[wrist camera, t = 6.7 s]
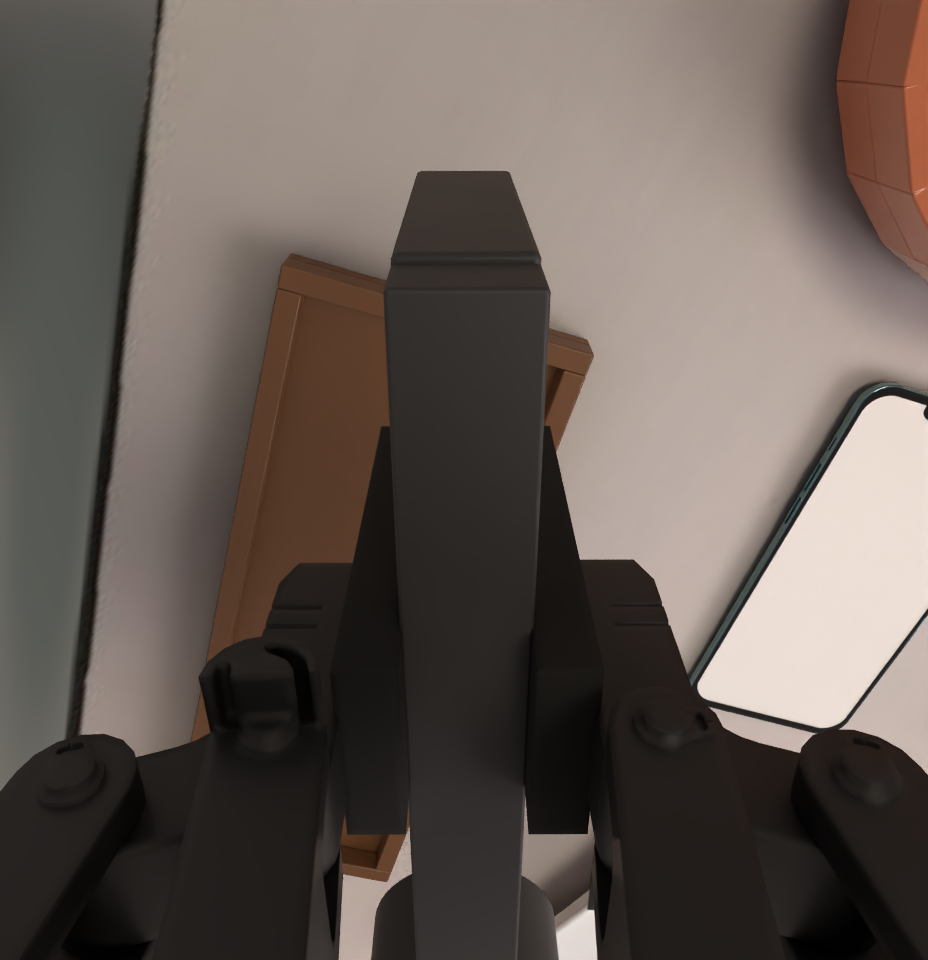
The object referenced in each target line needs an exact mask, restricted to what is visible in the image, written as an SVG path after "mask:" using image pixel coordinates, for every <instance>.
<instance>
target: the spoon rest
mask: <svg viewBox="0 0 928 960" xmlns="http://www.w3.org/2000/svg"><path fill="white" fill-rule="evenodd" d="M385 285H386V281H384V280H381V279H377V278H374V277H370V276H367V275H363V274H360V273H357V272H353V271H350V270H346V269H343V268H340V267H336V266H333V265H329V264H326V263H322V262H319V261H316V260H312V259H309V258H305V257H302V256H299V255H295V254H291V255H290V256H289V257H288V258H287V259H286V260H285V262H284V263H283V264H282V266H281V271H280V276H279V281H278V288H277V291H276V296H275V302H274V307H273V312H272V318H271V323H270V328H269V333H268V339H267V344H266V349H265V354H264V360H263V365H262V370H261V375H260V381H259V386H258V391H257V396H256V402H255V407H254V412H253V418H252V423H251V428H250V433H249V439H248V444H247V449H246V454H245V460H244V465H243V470H242V475H241V481H240V486H239V491H238V496H237V502H236V507H235V512H234V517H233V523H232V528H231V533H230V539H229V544H228V549H227V554H226V560H225V565H224V570H223V575H222V581H221V586H220V591H219V596H218V602H217V607H216V612H215V617H214V623H213V628H212V633H211V639H210V644H209V649H208V654H207V660H206V664H207V662H208V661H209V660H210V659H212V658H213V657H214V656H215V655H217V654H218V653H219V652H220V651H221V650H223V649H224V648H226V647H228V646H231V645H233V644H235V643H237V642H240V641H242V640H244V639H249V638H255V637H260V636H262V633H263V630H264V629H265V624H266V621H267V618H268V615H269V612H270V610H272V603H273V600H274V597H275V594H276V591H277V588H278V585H279V583H280V582H281V581H282V580H283V579H284V578H285V577H286V576H287V575H288V574H289V573H290V572H291V571H292V570H293V569H294V568H295V567H296V566H297V565H298V564H299V563H353V559H354V554H355V549H356V545H357V540H358V535H359V530H360V526H361V521H362V516H363V511H364V507H365V502H366V497H367V492H368V487H369V483H370V478H371V473H372V468H373V464H374V459H375V454H376V449H377V445H378V440H379V435H380V430H381V426H390V420H389V400H388V380H387V360H386V340H385V320H384V300H383V291H384V288H385ZM593 357H594V354H593V352H592V349H591V347H590V345H589V343H588V341H587V340H586V339H582V338H579V337H575V336H572V335H568V334H565V333H562V332H558V331H555V330H551V329H549V334H548V354H547V374H546V394H545V413H544V426H550V428H551V432H552V437H553V441H554V446H555V450H556V451H557V449H558V446H559V444H560V441H561V438H562V436H563V433H564V431H565V428H566V426H567V423H568V421H569V418H570V416H571V413H572V410H573V408H574V405H575V403H576V400H577V398H578V395H579V393H580V390H581V388H582V385H583V382H584V380H585V375H586V374H587V372H588V370H589V367H590V365H591V362H592V360H593ZM205 666H206V665H205ZM209 733H210V729H209V724H208V719H207V715H206V710H205V705H204V700H203V696H202V691H200V696H199V702H198V707H197V712H196V717H195V723H194V728H193V733H192V738H191V742H193V741H196V740H197V739H199V738H201V737H203V736H205V735H207V734H209ZM409 826H410V822H409V802H408V815H407V829H406V833H407V831H408V828H409ZM405 836H406V835H347V829H346V819H345V817H344V823H343V830H342V837H341V843H340V849H341V857H342V866H343V874H345V875H351V876H356V877H361V878H367V879H372V880H377V881H383V882H387V881H388V879H389V877H390V874H391V871H392V869H393V867H394V864H395V862H396V859H397V856H398V854H399V851H400V849H401V846H402V844H403V841H404V839H405Z"/></svg>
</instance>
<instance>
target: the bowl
mask: <svg viewBox="0 0 928 960" xmlns="http://www.w3.org/2000/svg"><path fill="white" fill-rule="evenodd" d="M837 80H838V81H837V83H836V86H837V95H838V103H839V111H840V119H841V128H842V136H843V144H844V153H845V161H846V169H847V171H848V173H847V175H848V177H849V179H850V181H851V183H852V185H853V187H854V189H855V191H856V193H857V195H858V197H859V199H860V201H861V203H862V205H863V206H864V208H865V210H866V212H867V214H868V216H869V218H870V220H871V222H872V224H873V226H874V228H875V230H876V232H877V234H878V236H879V238H880V240H881V242H882V243H883V244H884V246H885V247H887V248H888V249H889V250H890V251H891V252H893V253H894V254H895V255H896V256H897V257H898V258H900V259H901V260H902V261H903V262H904V263H906V264H907V265H908V266H909V267H910V268H911V269H913V270H914V271H915V272H916V273H917V274H919V275H920V276H921V277H922V278H923V279H924V280H926V281H927V282H928V0H850V2H849V7H848V13H847V19H846V25H845V30H844V36H843V42H842V48H841V54H840V59H839V65H838V71H837Z"/></svg>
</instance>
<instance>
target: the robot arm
mask: <svg viewBox="0 0 928 960" xmlns="http://www.w3.org/2000/svg"><path fill="white" fill-rule="evenodd" d="M199 681H200V686H201V691H202V696H203V700H204V705H205V710H206V715H207V719H208V724H209V729H210V733H209V734H207V735H205V736H203V737H201V738H199V739H197V740H196V741H193V742H190V743H187V744H184V745H181V746H179V747H175V748H171V749H167V750H164V751H160V752H156V753H152V754H148V755H144V756H140V757H135V753H134V751H133V750H132V749H131V748H130V747H129V746H128V745H127V744H126V743H125V742H124V740H121V739H118V738H115V737H112V736H109V735H106V734H93V735H80V736H76V737H73V738H70V739H66V740H63V741H59V742H57V743H55V744H53V745H51V746H50V747H48V748H46V749H45V750H43V751H41V752H39V753H38V754H35V755H34V756H33V757H32V758H31V759H30V760H29V761H28V762H27V763H25V764H24V765H23V766H22V767H21V768H20V769H19V770H18V771H17V772H16V773H15V774H14V775H13V777H12V778H11V779H10V780H9V781H8V783H7V784H6V785H5V786H4V788H3V789H2V790H1V791H0V960H338V959H339V940H340V921H341V903H342V884H343V866H342V857H341V849H340V843H341V837H342V830H343V823H344V817H345V819H346V829H347V835H406V829H407V815H408V801H409V770H408V750H407V730H406V710H405V691H404V671H403V651H402V631H401V629H400V621H399V601H398V581H397V561H396V541H395V521H394V501H393V481H392V461H391V441H390V426H381V430H380V435H379V440H378V445H377V449H376V454H375V459H374V464H373V468H372V473H371V478H370V483H369V487H368V492H367V497H366V502H365V507H364V511H363V516H362V521H361V526H360V530H359V535H358V540H357V545H356V549H355V554H354V559H353V563H299V564H298V565H297V566H296V567H295V568H294V569H293V570H292V571H291V572H290V573H289V574H288V575H287V576H286V577H285V578H284V579H283V580H282V581H281V582H280V583H279V585H278V588H277V591H276V594H275V597H274V600H273V603H272V610H270V612H269V615H268V618H267V621H266V624H265V629H264V630H263V633H262V636H260V637H255V638H249V639H244V640H242V641H240V642H237V643H235V644H233V645H231V646H228V647H226V648H224V649H223V650H221V651H220V652H219V653H218V654H217V655H215V656H214V657H213V658H212V659H210V660H209V661H208V662H207V664H206V666H205V667H204V669H203V671H202V672H201V674H200V676H199ZM525 796H526V808H527V821H528V833H529V834H588V825H589V816H590V814H591V820H592V826H593V832H594V838H595V845H594V854H593V863H592V872H591V881H590V890H589V899H588V907H587V910H594V916H595V931H596V947H597V960H928V775H927V774H926V773H925V771H924V770H923V769H922V768H921V767H920V766H919V765H918V764H917V763H916V762H915V761H914V760H913V759H911V758H910V757H909V756H908V755H907V754H906V753H905V752H904V751H903V750H901V749H900V748H898V747H896V746H894V745H892V744H890V743H889V742H887V741H885V740H883V739H881V738H879V737H877V736H873V735H870V734H866V733H863V732H859V731H856V730H837V729H831V730H828V731H824V732H821V733H818V734H815V735H813V736H812V737H811V738H810V739H809V740H808V741H807V742H806V743H805V744H804V745H803V747H802V748H801V752H800V753H797V752H793V751H789V750H785V749H781V748H777V747H773V746H769V745H765V744H761V743H758V742H755V741H752V740H749V739H746V738H743V737H740V736H738V735H736V734H734V733H732V732H730V731H729V730H727V729H725V728H723V726H722V724H721V722H720V721H719V719H718V717H717V715H716V713H715V712H713V711H712V710H711V709H710V708H709V707H708V706H707V705H705V704H704V703H703V702H702V701H701V700H699V699H697V698H696V697H695V695H694V692H693V689H692V687H691V684H690V681H689V678H688V675H687V672H686V669H685V667H684V664H683V661H682V658H681V655H680V652H679V649H678V647H677V644H676V641H675V638H674V635H673V632H672V630H671V627H670V625H668V618H667V615H666V612H665V610H664V607H662V601H661V598H660V595H659V592H658V590H657V587H656V584H655V581H654V579H653V578H652V577H651V576H650V575H649V574H648V573H647V572H646V571H645V570H644V569H643V568H642V567H641V566H640V565H639V564H638V563H637V562H636V561H634V560H580V559H579V554H578V550H577V545H576V541H575V536H574V532H573V527H572V522H571V518H570V513H569V509H568V504H567V500H566V495H565V491H564V486H563V482H562V477H561V473H560V468H559V464H558V459H557V455H556V450H555V446H554V441H553V437H552V432H551V428H550V426H544V433H543V453H542V473H541V493H540V513H539V532H538V552H537V572H536V592H535V612H534V628H533V630H532V646H531V667H530V688H529V709H528V730H527V751H526V772H525Z"/></svg>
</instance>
